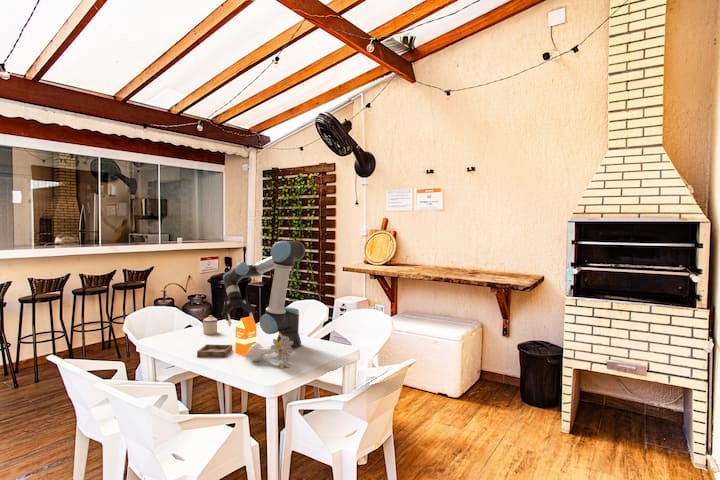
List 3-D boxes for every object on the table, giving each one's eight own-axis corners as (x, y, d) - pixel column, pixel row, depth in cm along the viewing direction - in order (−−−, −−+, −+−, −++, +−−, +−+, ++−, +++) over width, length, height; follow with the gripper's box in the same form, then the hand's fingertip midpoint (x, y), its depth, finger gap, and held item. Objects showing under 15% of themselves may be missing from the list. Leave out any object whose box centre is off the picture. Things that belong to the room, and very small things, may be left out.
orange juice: (234, 352, 236) (235, 317, 235) (246, 349, 243) (247, 315, 243) (244, 355, 231) (245, 319, 231) (256, 351, 239) (257, 316, 239)
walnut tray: (232, 350, 240) (232, 345, 240) (224, 357, 226) (224, 351, 226) (206, 349, 240) (206, 344, 240) (197, 356, 226) (197, 351, 226)
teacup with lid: (220, 332, 280) (220, 315, 280) (209, 335, 273) (209, 317, 273) (208, 330, 287) (208, 313, 287) (197, 332, 279) (197, 315, 279)
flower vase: (249, 375, 218) (288, 371, 208) (239, 342, 216) (277, 336, 206) (264, 364, 230) (301, 359, 220) (254, 333, 228) (291, 326, 218)
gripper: (251, 296, 262) (260, 325, 250) (211, 299, 248) (218, 329, 236) (255, 289, 258) (264, 317, 246) (214, 291, 244) (221, 322, 232)
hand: (241, 323), depth 241 cm, fingers open, 13 cm apart
